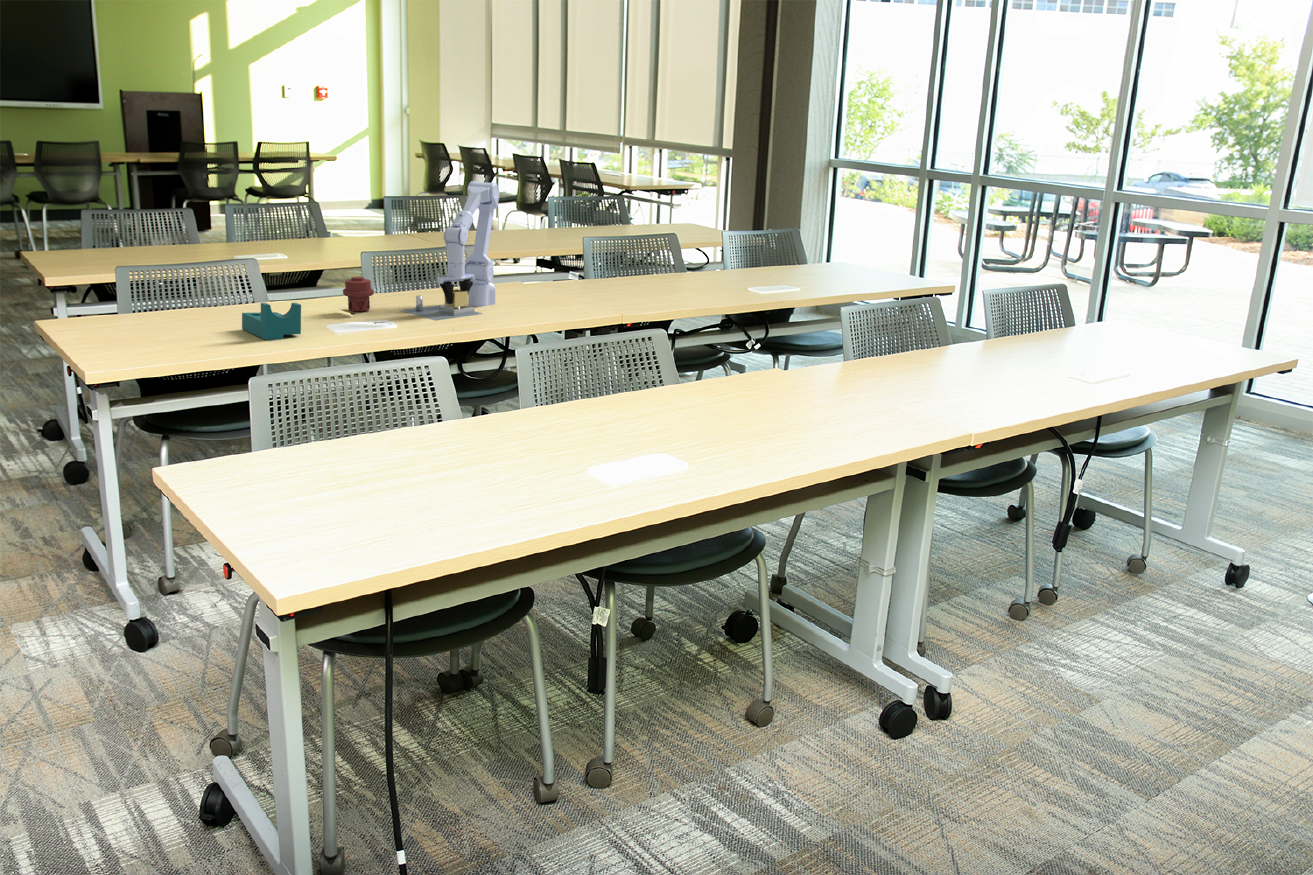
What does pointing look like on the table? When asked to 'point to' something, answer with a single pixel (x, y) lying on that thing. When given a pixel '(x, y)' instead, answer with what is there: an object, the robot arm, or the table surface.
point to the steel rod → (419, 303)
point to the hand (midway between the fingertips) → (456, 302)
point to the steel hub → (456, 310)
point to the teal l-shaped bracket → (273, 322)
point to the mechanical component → (358, 294)
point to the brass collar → (458, 298)
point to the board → (435, 313)
